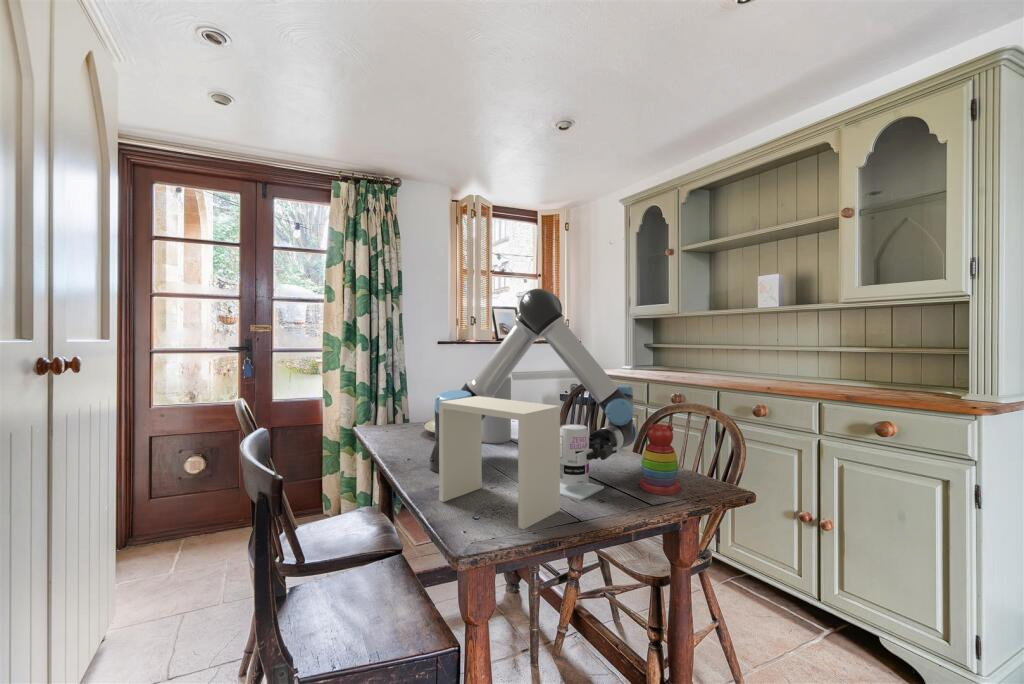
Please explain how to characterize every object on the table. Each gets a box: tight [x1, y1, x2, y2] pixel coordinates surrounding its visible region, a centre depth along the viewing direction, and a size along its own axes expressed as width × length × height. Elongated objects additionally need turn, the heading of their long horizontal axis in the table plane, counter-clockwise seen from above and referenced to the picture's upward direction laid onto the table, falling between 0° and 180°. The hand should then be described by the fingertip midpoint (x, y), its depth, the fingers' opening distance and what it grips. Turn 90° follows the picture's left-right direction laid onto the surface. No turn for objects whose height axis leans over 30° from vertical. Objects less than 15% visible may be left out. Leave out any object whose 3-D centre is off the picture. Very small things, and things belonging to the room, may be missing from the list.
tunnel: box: [438, 396, 561, 530], centre depth 115 cm, size 14×27×25 cm, turn 51°
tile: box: [560, 482, 605, 501], centre depth 127 cm, size 12×12×1 cm
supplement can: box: [560, 423, 590, 486], centre depth 127 cm, size 8×8×15 cm
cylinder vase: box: [482, 375, 512, 445], centre depth 184 cm, size 12×12×25 cm
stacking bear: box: [639, 423, 682, 496], centre depth 127 cm, size 11×10×18 cm
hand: (564, 456), depth 123 cm, fingers closed on supplement can, 8 cm apart
